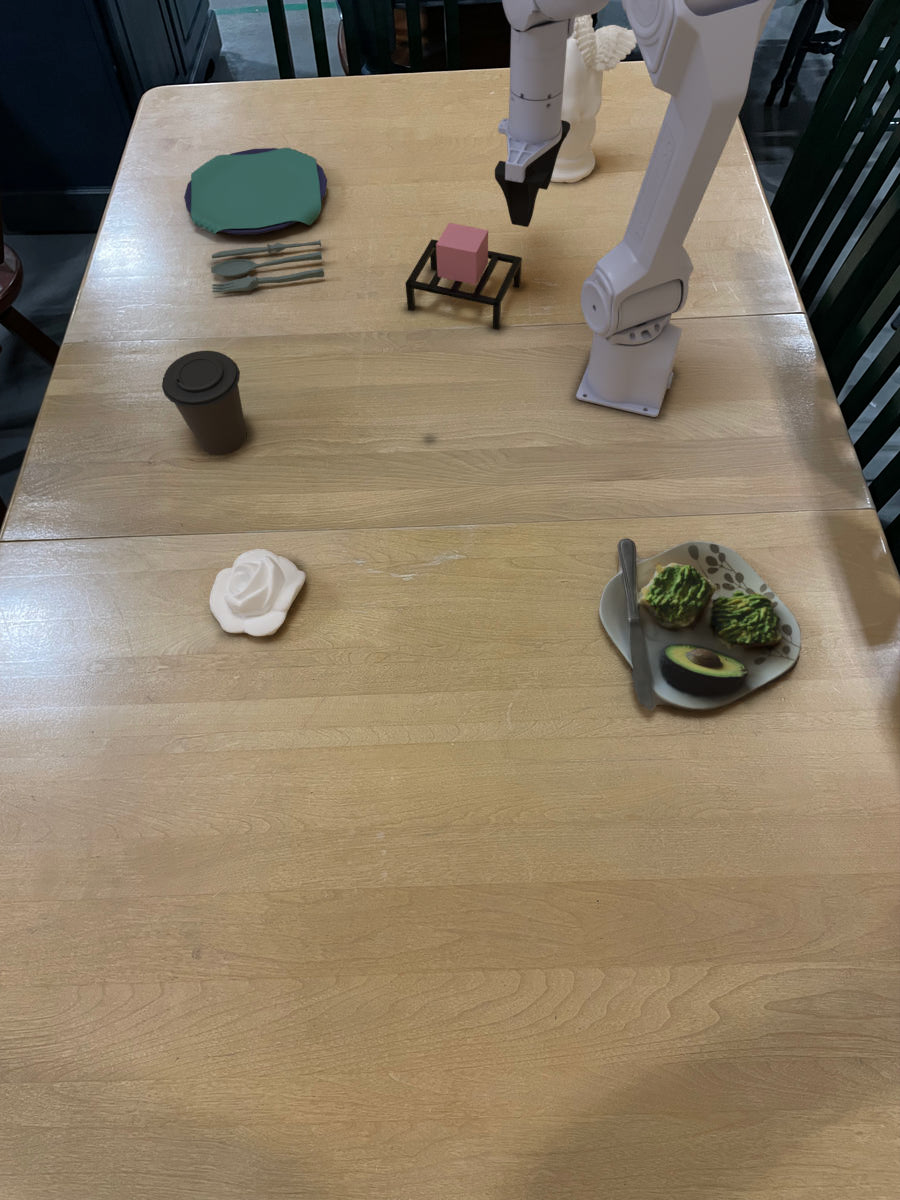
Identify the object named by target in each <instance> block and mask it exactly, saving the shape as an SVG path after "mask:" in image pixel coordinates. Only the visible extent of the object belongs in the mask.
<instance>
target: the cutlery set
mask: <svg viewBox="0 0 900 1200" xmlns="http://www.w3.org/2000/svg"><path fill="white" fill-rule="evenodd" d="M327 187H328V178H327V176H326V174H325V172H324V169H323V167H322V166H321V165H319V164H318V163H317V158H315V157H313V156H312V155H308V154H307V153H303V152H302V151H299V150H297V149H295V148H294V149H293V148H291V147H281V148H280V147H279V148H277V147H268V148H267V147H266V148H251V149H246V150H241V151H236V152H232V153H230V154H219V155H216V156H214V157H213V158H211V159H210V160H208V161H206V162H205V163H204V164H202V165H201V166H199V167H198V168H196V169H195V170H194V171H193V172H191V173H190V180H189V182H188V183H187V185H186V189H185V192H184V196H183V198H184V202H185V207H186V210H187V212H188V213H189V214H190V217H191V218H190V219H191V220H192V222H193V224H194V225H195V226H197V227H198V228H202V229H203V230H206V231H208V232H209V233H211V234H213V235H216V234H217V232H220V233H224V234H225V233H227V234H232V235H259V234H264V233H269V232H272V231H273V232H274V231H279V230H282V229H284V228H287V227H289V226H291V225H294V224H296V223H298V222H301V223H303V224H305V225H308V226H311V225H312V224H313V223H314V222H315V221H316V220H317V219H318V218H319V215H320V214H321V211H322V201H323V200H324V198H325V197H326V193H327ZM266 245H267V246H258V247H257V246H256V247H245V248H237V249H236V248H235V249H228V250H221V251H218V252H215V253H213V254H212V255H211V258H212V259H213V260H214V259H220V258H221V259H222V258H228V257H229V258H230V257H235V256H236V257H237V256H244V255H252V254H260V253H267V254H268V255H269V256H271V253H273V252H276V253H279V252H281V251H284V250H286V249H292V248H299V247H308V246H309V247H310V246H319V247H322V242H321V239H319V240H315V241H309V242H301V243H299V242H298V243H297V242H296V243H295V242H294V243H286V244H285V243H279V242H275V243H274V244H273V245H271V244H270V243H267V244H266ZM322 260H323V254H322V251H316V252H310V253H304V254H297V255H291V256H286V257H282V258H278V259H274V260H269V261H264V262H261V263H256V262H255V261H252V260H249V259H247V258H233V259H228V260H224V261H220V262H218V263H216V264H215V265H213V266H211V267H210V273H211V274H214V275H217V276H221V277H223V278H237V279H233V280H229V281H225V282H221V283H212V284H211V285H212V287H211V288H212V290H211V291H212V293H216V294H217V293H219V294H221V293H228V292H245V291H251V290H254V289H256V288H258V287H259V285H262V284H282V283H290V282H297V281H302V280H307V279H314V278H315V279H316V278H325V276H326V275H325V270H324V268H322V267H321V268H317V269H310V270H304V271H300V272H296V273H291V274H286V275H285V274H284V275H280V276H265V277H264V276H263V277H258V276H257V275H255V276H253V277H252V276H250V275H249V274H248V273H250V272H251V271H253V270H256V269H260V268H264V267H265V268H266V267H270V266H278V265H283V264H287V263H288V264H289V263H297V262H298V263H299V262H306V261H322ZM247 274H248V275H247ZM245 275H247V276H246V277H242V276H245ZM238 277H242V278H238Z"/></svg>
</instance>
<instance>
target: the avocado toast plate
mask: <svg viewBox="0 0 900 1200" xmlns="http://www.w3.org/2000/svg"><path fill="white" fill-rule="evenodd" d="M617 555H618V562H619V566H618V570H617V573H616V574H615V575H614V576H613V577H612V578H611V579H610V580H609V581H608V582H607V583H606V585H605V586H604V589H603V591H602V593H601V597H600V602H599V606H598V613H599V618H600V622H601V624H602V625H603V628H604V629H605V631H606V633H607V635H608V637H609V638H610V640H611V641H612V643H613V644H614V645H615V647H616V648H617V649H618V651H619V652H620V653H621V655H622V656H623V657H624V658H625V660H626V662H627V663H628V664H629V665H630V667H631V670H632V673H631V677H632V682H633V687H634V690H635V693H636V696H637V700H638V702H639V703H640V704H641V705H642V706H644V707H645V708H646V709H647V710H648V711H650V712H652V710H654V709H655V708H656V706H657V705H661V706H667V707H670V708H675V709H677V710H683V711H688V712H697V713H701V712H709V711H713V710H717V709H720V708H724V707H726V706H729V705H731V704H734V703H737V702H740V701H741V700H742V699H744V698H745V697H747V696H749V695H751V694H753V693H756V692H758V691H759V690H761V689H763V688H765V687H768V686H771V685H772V684H774V683H776V682H779V680H781V679H782V678H783V677H785V676H787V675H788V674H789V673H791V672H792V671H793V670H794V669H795V668H796V666H797V664H798V662H799V659H800V654H801V652H802V631H801V628H800V627H801V626H800V624H799V622H798V620H797V618H796V617H795V615H794V614H793V613H792V611H791V610H790V608H789V607H788V606H787V605H786V604H785V603H784V602H783V601H782V600H781V598H779V597H778V595H777V594H776V592H774V591H773V590H772V589H771V588H770V587H769V585H768V584H767V583H766V582H765V581H764V580H763V579H762V578H761V576H760V575H759V574H758V573H757V571H756V570H755V569H754V568H753V567H752V566H751V565H750V564H749V563H748V562H747V561H746V560H745V559H744V558H743V557H742V556H741V555H740V554H739V553H738V552H737V551H735V550H734V549H732V548H731V547H728V546H726V545H724V544H721V543H716V542H712V541H711V542H710V541H705V540H691V541H686V542H682V543H680V544H677V545H675V546H672V547H671V548H669V549H666V550H664V551H662V552H660V553H658V554H656V555H653V556H651V557H647V558H642V557H640V556H639V553H638V551H637V545H636V543H635V541H634V540H633V539H630V538H627V537H626V538H622V539H620V540H619V542H618V544H617Z"/></svg>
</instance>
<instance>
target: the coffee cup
mask: <svg viewBox="0 0 900 1200" xmlns="http://www.w3.org/2000/svg"><path fill="white" fill-rule="evenodd" d="M240 373H241V371H240V369H239V366H238V363H236V362H235V361H234V360H233V359H232V358H231V357H229V356H228V355H226V354H225V353H222V352H220V351H215V350H198V351H197V350H196V351H193V352H190V353H187V354H184V355H182V356H180V357H178V358H177V359H175V360H174V361H173V362H172V363H171V364H170V365H169V366H168V367H167V369H166V370H165V372H164V374H163V377H162V383H161V389H162V391H163V394H164V396H165V397H166V398H167V399H168V400H169V401H170V402H171V403H173V404H174V406H175V407H176V408H177V410H178V411H179V413H180V415H181V417H182V418H183V421H184V422H185V424H186V426H187V427H188V429H189V430H190V432H191V433H192V435H193V438H195V440H196V442H197V443H198V445H199V447H200V448H201V450H202V451H204V452H205V453H207V454H209V455H212V456H226V455H230V454H232V453H235V452H236V451H237V450H239V449H240V448H242V446H243V445H244V443H245V442H246V440H247V429H246V423H245V418H244V412H243V407H242V405H243V404H242V400H241V395H240V390H239V382H240V377H241V375H240Z"/></svg>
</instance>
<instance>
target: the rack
mask: <svg viewBox="0 0 900 1200" xmlns="http://www.w3.org/2000/svg"><path fill="white" fill-rule="evenodd" d="M438 240H439V239H438ZM438 240H437V239H433V238H431V239H430V241H429V243H428V244H427V246H426V248H424V249H425V250H424V251H423V252H422V255H421V256H420V257H419V259H418V261H417V263H416V265H414V267H413V270H411V271H412V272H411V273H410V274H409V276H408V278H407V280H405V293H406V304H407V305H406V306H407V311H412V312H414V311H415V309H416V308H417V307H416V294H415V290H418V291H422V292H427V293H431V294H436V295H440V296H446V297H450V298H455V299H460V300H464V301H469V302H472V303H478V304H484V305H487V306H492V329H493V330H497V331H500V328H501V324H502V323H501V322H502V302H503V301H504V298H505V296H506V294H507V292H508V290H509V288H510V286H511V284H512V287H513V288H516V289H520V287H521V285H522V268H523V267H522V266H523V257H521V256H518V255H514V254H513V255H511V254H506V253H502V252H497V251H493V250H488V260H489V261H488V264H487V266H486V267H485V269H484V271H483V273H482V275H481V277H480V279H479V281H478V283H477V285H475V289H474V290H473V291H472V292H469V291H466V290H465V291H464V290H460V289H461V288H462V285H463V283H464V282H460V281H455V280H454V282H453V283H452V286H451V287H445V286H440V285H439V283H440V282H441V280H442V278H441V277H438V272H437V252H436V244H437V242H438ZM429 260H430V270H431V271H435V273H434V275H433V276H432V278H431V279H430V281H429V283H427V282H423V281H418V278H419V276H420V275H421V273H422V271H423V270H424V268H425V266H426V265H427V263H428V261H429ZM498 262H504V263H508V264H511V265H510V268H509V269H508V271H507V273H506V276H505V277H504V279H503V281H502V283H501V285H500V286H499V289H498V291H497V293H496V295H495V297H493V296H489V295H484V294H482V293H483V291H484V289H485V287H486V286H487V284H488V281H489V280H490V278H491V277H492V275H493V272H494V270H495V268H496V266H497V265H498Z"/></svg>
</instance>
